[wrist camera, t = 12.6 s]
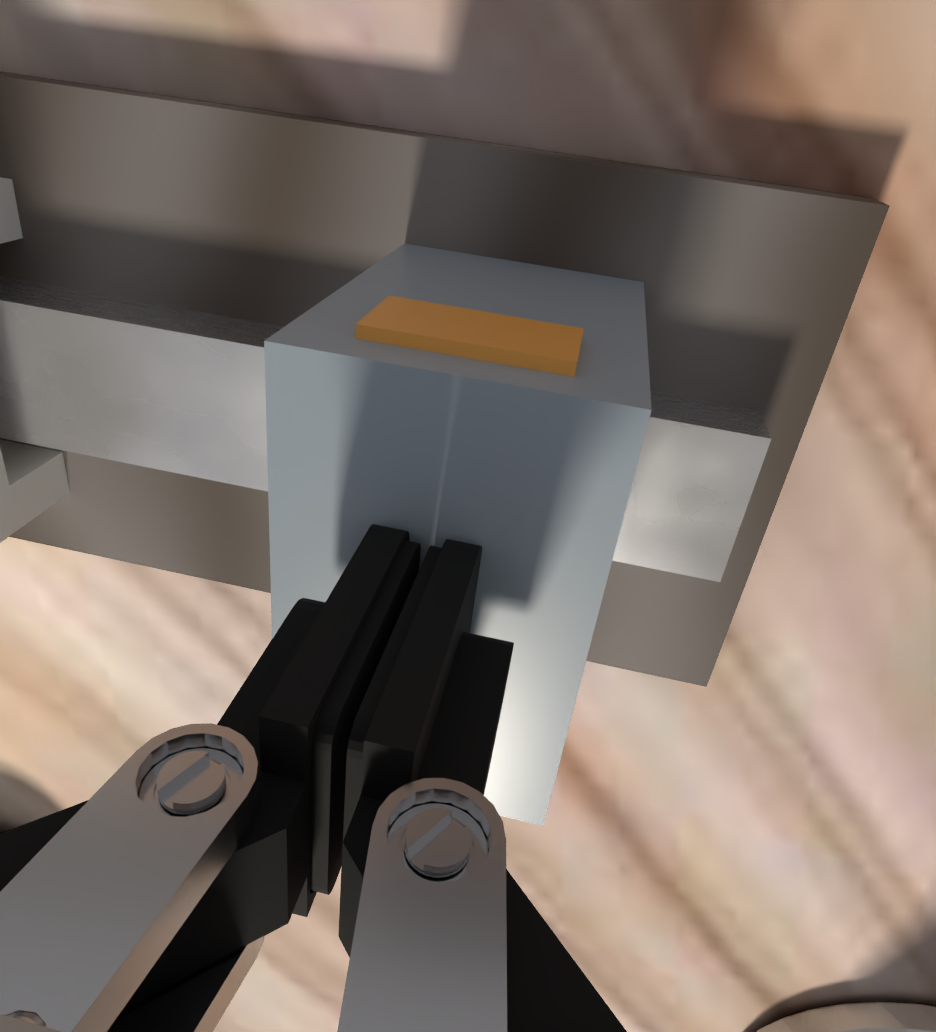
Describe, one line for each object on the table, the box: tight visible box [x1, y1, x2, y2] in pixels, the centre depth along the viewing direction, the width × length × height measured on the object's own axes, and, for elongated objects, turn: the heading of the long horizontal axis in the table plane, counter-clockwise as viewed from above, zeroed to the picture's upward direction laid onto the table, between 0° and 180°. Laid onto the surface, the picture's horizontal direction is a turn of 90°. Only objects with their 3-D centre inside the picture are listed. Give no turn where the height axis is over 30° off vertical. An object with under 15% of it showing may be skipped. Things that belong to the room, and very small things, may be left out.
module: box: [264, 244, 652, 826], centre depth 14 cm, size 5×8×7 cm, turn 174°
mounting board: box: [0, 72, 889, 686], centre depth 18 cm, size 25×12×1 cm, turn 84°
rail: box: [0, 277, 771, 582], centre depth 17 cm, size 23×4×2 cm, turn 84°
